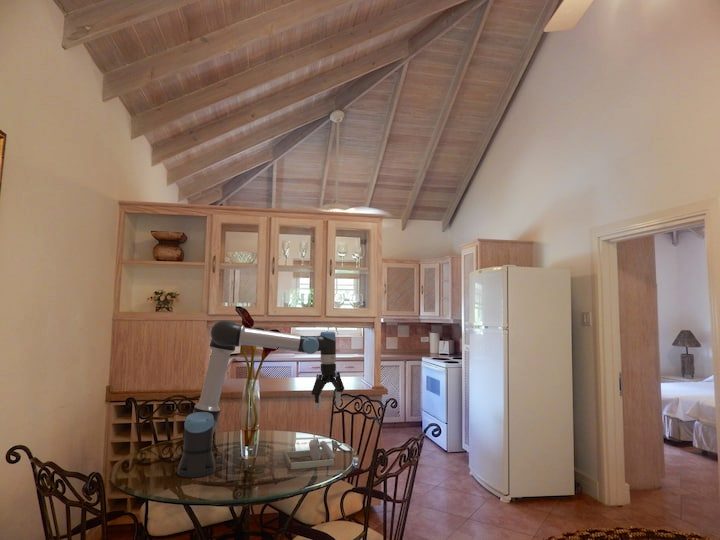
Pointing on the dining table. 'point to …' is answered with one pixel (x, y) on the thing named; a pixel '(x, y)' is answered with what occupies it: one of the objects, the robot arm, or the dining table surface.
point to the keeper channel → (308, 463)
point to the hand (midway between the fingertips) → (328, 407)
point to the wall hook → (316, 450)
